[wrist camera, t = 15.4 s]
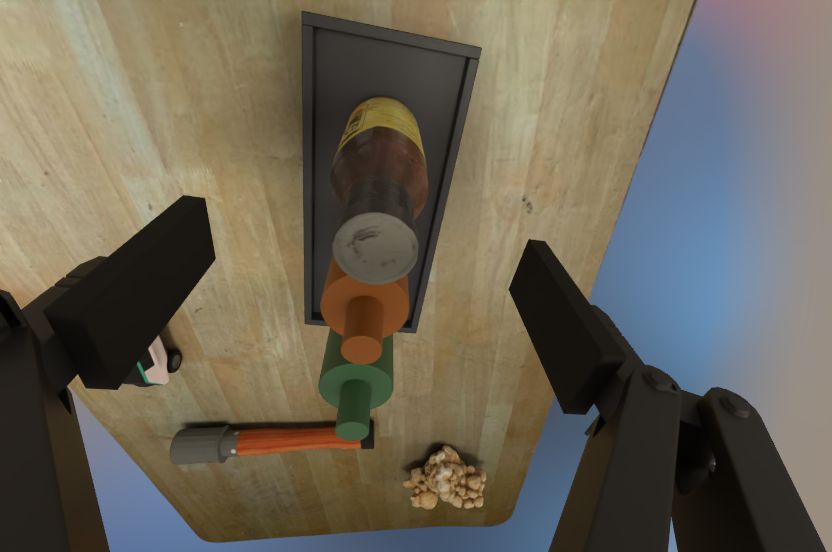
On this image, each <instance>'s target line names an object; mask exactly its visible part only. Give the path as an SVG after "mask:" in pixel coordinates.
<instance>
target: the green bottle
mask: <svg viewBox="0 0 832 552" xmlns="http://www.w3.org/2000/svg"><path fill="white" fill-rule="evenodd" d="M342 337H343V336H342V335H340V334H338V333H337V332H335V331H334V330H333V329H332V328H331V327H330V331H329V336H328V341H327V345H326V350H325V355H324V360H323V365H322V370H321V375H320V380H319V385H318V387H319V392H320V394H321V396H322V397H323V399H324V400H325V401H327V402H328V403H329V404H331V405H333V406H335V407H337V408H338V413H337V420H336V427H335V434H336V435H337V436H338V437H339V438H340V439H342V440H346V441H358V440H362V439H364V438H365V437H366V436H367V435H368V434H369V422H370V409H373V408H376V407H378V406H380V405H382V404H384V403H385V402H386V401H387V400H388V399H389V398H390V396H391V395H392V392H393V334H392V335H390V336H388V337H385V338H383V343H382V354H381V356H380V357H379V358H378V359H377V360H376V361H374V362H372V363H369V364H355V363H352V362H349V361H348V360H346V359H345V358H344V357H343V355H342V353H341V344H342Z"/></svg>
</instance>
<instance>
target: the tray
mask: <svg viewBox="0 0 832 552" xmlns="http://www.w3.org/2000/svg"><path fill="white" fill-rule="evenodd" d="M481 50H482V48H481V47H476V46H471V45H466V44H461V43H456V42H452V41H447V40H442V39H437V38H432V37H427V36H422V35H417V34H413V33H408V32H403V31H398V30H393V29H388V28H383V27H379V26H374V25H369V24H364V23H359V22H354V21H349V20H344V19H340V18H335V17H330V16H325V15H320V14H315V13H310V12H305V11H302V107H303V206H304V306H305V324H308V325H320V326H329V325H328V324H327V323H326V322H325V320H324V318H323V316H322V313H321V308H320V303H321V297H322V294H323V290H324V286H325V282H326V278H327V274H328V270H329V267H330V263H331V259H332V255H333V252H332V239H333V234H334V227H335V225H336V222H337V219H338V218H339V216H340V215H341V214H342V210H341V208H340V206H339V204H338V202H337V201H336V199H335V197H334V195H333V193H332V190H331V186H330V171H331V167H332V164H333V161H334V158H335V155H336V152H337V150H338V147H339V144H340V141H341V139H342V136H343V134H344V131H345V129H346V126H347V124H348V121H349V118H350V116H351V114H352V113H353V111H354V110H355V109H356V108H357V107H358V106H359V105H360V104H361V103H362V102H365V101H367V100H368V99H370V98H373V97H376V96H388V97H392V98H394V99H396V100H398V101H399V102H401V103H402V104H404V105H406V106H407V108H408V109H409V110H410V112H411V113H412V114H413V116H414V117H415V120H416V122H417V125H418V129H419V133H420V137H421V142H422V147H423V151H424V156H425V161H426V166H427V179H428V185H429V186H428V196H427V199H426V203H425V205H424V207H423V209H422V211H421V213H420V214H419V215H418V217H417V218H416V219H415V220H414V223H415V226H416V228H417V232H418V238H419V254H418V259H417V261H416V264H415V265H414V267H413V268H412V269H411V271H410V272H409V273H407V276H408V291H409V307H410V309H409V315H408V318H407V320H406V322H405V323H404V325H403V326H402V327H401V328H400V329H399V330H398V331H397V332H404V333H416V332H417V327H418V323H419V318H420V314H421V310H422V305H423V301H424V297H425V292H426V288H427V284H428V279H429V275H430V271H431V266H432V262H433V258H434V253H435V249H436V245H437V241H438V236H439V232H440V228H441V223H442V219H443V215H444V210H445V206H446V202H447V197H448V193H449V189H450V184H451V180H452V176H453V171H454V167H455V163H456V158H457V154H458V150H459V145H460V141H461V137H462V132H463V128H464V124H465V119H466V115H467V111H468V106H469V102H470V98H471V93H472V89H473V85H474V80H475V76H476V72H477V67H478V63H479V60H478V59H480V55H481Z"/></svg>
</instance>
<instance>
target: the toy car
mask: <svg viewBox="0 0 832 552" xmlns="http://www.w3.org/2000/svg"><path fill="white" fill-rule="evenodd" d="M164 349H165V350H164ZM165 351H166V352H165ZM181 360H182V356H181V353H180V352H179V351H175V350H172V351H168V352H167V350H166V348H165V345H164V343H163V340H162V338H161V335H160V334H159V335H158V336H157V338H156V339H155V340H154V342H153V343H152V344H151V346H150V347H149V348H148V350H147V351H146V352H145V354H144V355H143V356H142V358H141V359H140V360H139V362H138V363H137V364H136V366H135V367H134V368H133V370H132V371H131V372H130V374H129V375H128V376H127V378H126V379H125V380H124V382H123V384H128V385H129V384H133V385H136V386H138V387H149V386H152V385H164V384H166V383H168V382H169V381H170V378H169V374H168V373H174V372H176V371H177V370H178V369H179V367H180V365H181ZM151 367H152V368H151Z"/></svg>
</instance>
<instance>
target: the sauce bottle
mask: <svg viewBox="0 0 832 552" xmlns="http://www.w3.org/2000/svg"><path fill="white" fill-rule="evenodd" d="M330 186H331V190H332V193H333V195H334V197H335V199H336V201H337V202H338V204H339V206H340V208H341V210H342V214H341V215H340V216H339V218H338V219H337V222H336V225H335V227H334V234H333V239H332V252H333V255H334V259H335V260H336V262H337V264H338V265H339V267H340V268H341V270H342V271H343V272H345V273H346V274H347V275H349V276H350V277H352V278H353V279H355V280H357V281H359V282H362V283H367V284H374V285H382V284H387V283H391V282H394V281H396V280H398V279H400V278H403V277H404V276H405V275H406V274H407V273H409V272H410V271H411V269H412V268H413V267H414V265H415V264H416V261H417V259H418V254H419V238H418V232H417V228H416V226H415V223H414V220H415V219H416V218H417V217H418V215H419V214H420V213H421V211H422V209H423V207H424V205H425V203H426V199H427V196H428V186H429V185H428V179H427V166H426V161H425V156H424V151H423V147H422V142H421V137H420V133H419V129H418V125H417V122H416V120H415V117H414V116H413V114H412V113H411V112H410V110H409V109H408V108H407V106H406V105H404V104H402V103H401V102H399V101H398V100H396V99H394V98H392V97H388V96H376V97H373V98H370V99H368V100H367V101H365V102H362V103H361V104H360V105H359V106H358V107H357V108H356V109H355V110H354V111H353V113H352V114H351V116H350V118H349V121H348V124H347V126H346V129H345V131H344V134H343V136H342V139H341V141H340V144H339V147H338V150H337V152H336V155H335V158H334V161H333V164H332V167H331V171H330Z"/></svg>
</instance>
